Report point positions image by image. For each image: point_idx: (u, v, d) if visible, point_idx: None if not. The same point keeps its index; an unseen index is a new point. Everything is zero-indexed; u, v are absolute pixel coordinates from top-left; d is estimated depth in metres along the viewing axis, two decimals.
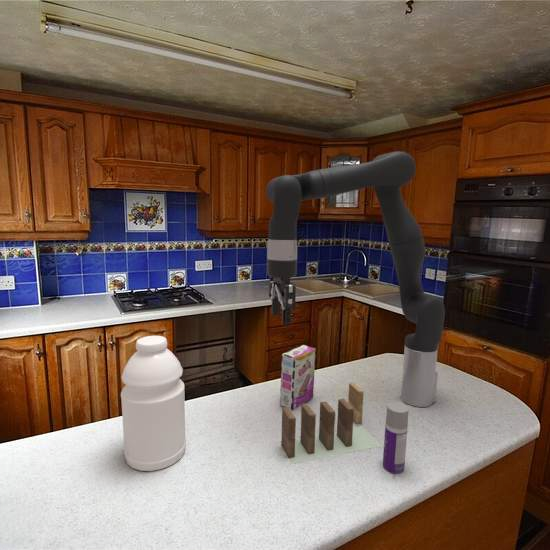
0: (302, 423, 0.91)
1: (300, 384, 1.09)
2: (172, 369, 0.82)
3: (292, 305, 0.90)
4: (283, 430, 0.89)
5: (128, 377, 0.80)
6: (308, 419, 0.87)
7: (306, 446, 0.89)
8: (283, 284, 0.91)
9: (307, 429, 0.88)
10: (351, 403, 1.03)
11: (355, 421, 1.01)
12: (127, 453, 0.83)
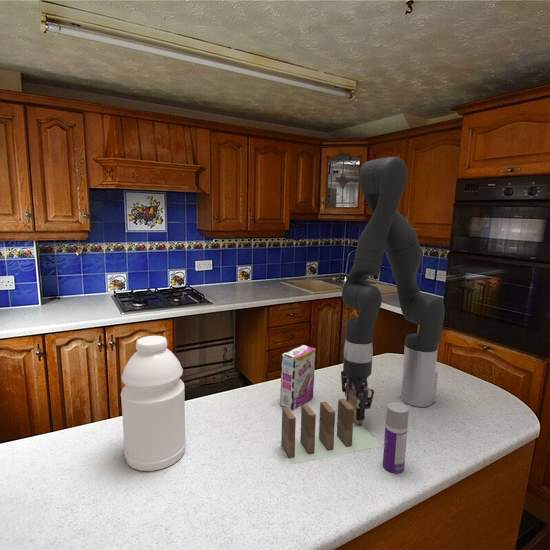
0: (302, 423, 0.91)
1: (300, 384, 1.09)
2: (172, 369, 0.82)
3: (367, 406, 0.97)
4: (283, 430, 0.89)
5: (128, 377, 0.80)
6: (308, 419, 0.87)
7: (306, 446, 0.89)
8: (361, 385, 0.98)
9: (307, 429, 0.88)
10: (351, 403, 1.03)
11: (355, 421, 1.01)
12: (127, 453, 0.83)
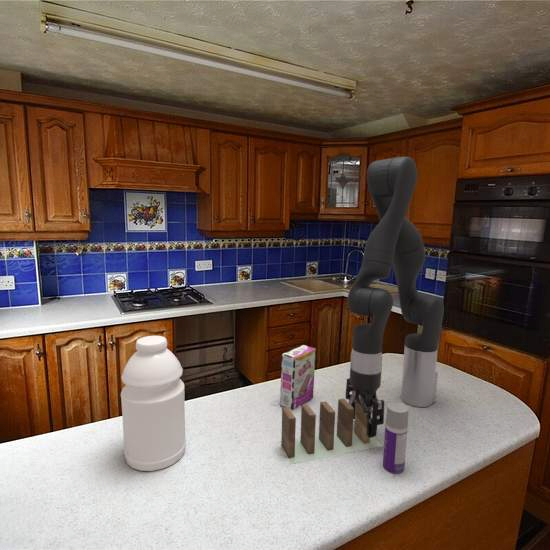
0: (302, 423, 0.91)
1: (300, 384, 1.09)
2: (171, 369, 0.82)
3: (380, 421, 0.88)
4: (283, 430, 0.89)
5: (128, 377, 0.80)
6: (308, 419, 0.87)
7: (306, 446, 0.89)
8: (370, 398, 0.89)
9: (307, 429, 0.88)
10: (358, 418, 0.95)
11: (362, 438, 0.93)
12: (127, 453, 0.83)
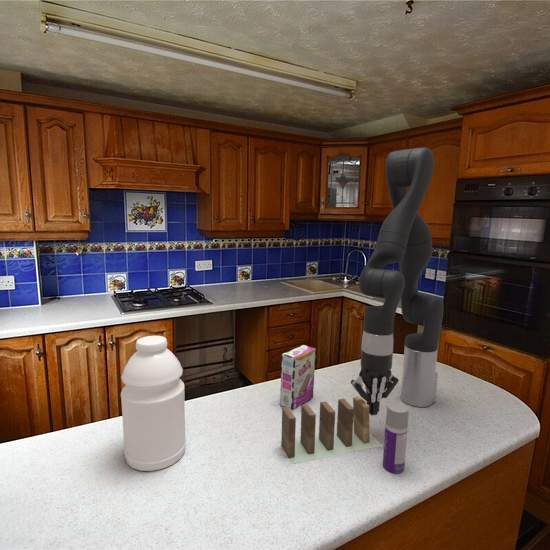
0: (302, 423, 0.91)
1: (300, 384, 1.09)
2: (172, 369, 0.82)
3: None
4: (283, 430, 0.89)
5: (128, 377, 0.80)
6: (308, 419, 0.87)
7: (306, 446, 0.89)
8: None
9: (307, 429, 0.88)
10: (357, 419, 0.95)
11: (362, 438, 0.93)
12: (127, 453, 0.83)
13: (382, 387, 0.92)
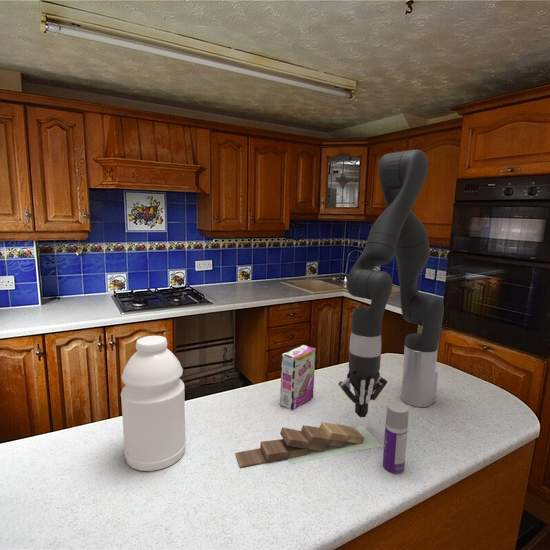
0: None
1: (300, 384, 1.09)
2: (172, 369, 0.82)
3: None
4: None
5: (128, 377, 0.80)
6: None
7: None
8: None
9: None
10: None
11: None
12: (127, 453, 0.83)
13: (370, 389, 0.92)
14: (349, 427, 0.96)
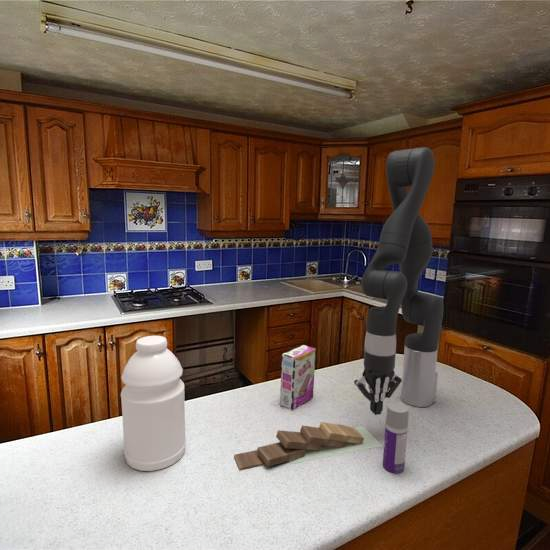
0: None
1: (300, 384, 1.09)
2: (172, 369, 0.82)
3: None
4: None
5: (128, 377, 0.80)
6: None
7: None
8: None
9: None
10: None
11: None
12: (127, 453, 0.83)
13: (385, 387, 0.93)
14: (349, 427, 0.96)
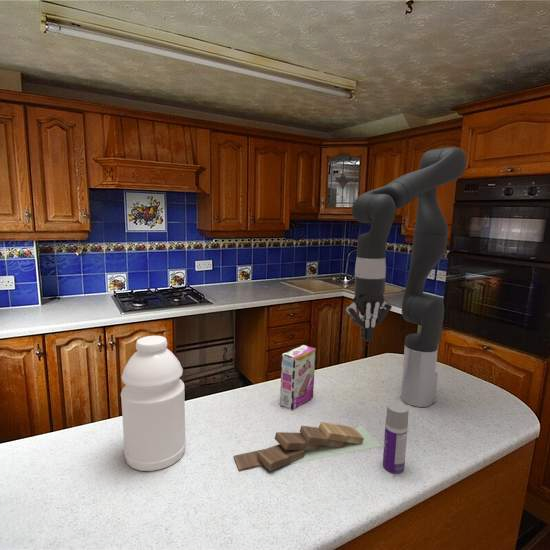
0: None
1: (300, 384, 1.09)
2: (172, 369, 0.82)
3: None
4: None
5: (128, 377, 0.80)
6: None
7: None
8: None
9: None
10: None
11: None
12: (127, 453, 0.83)
13: (375, 312, 0.95)
14: (349, 427, 0.96)
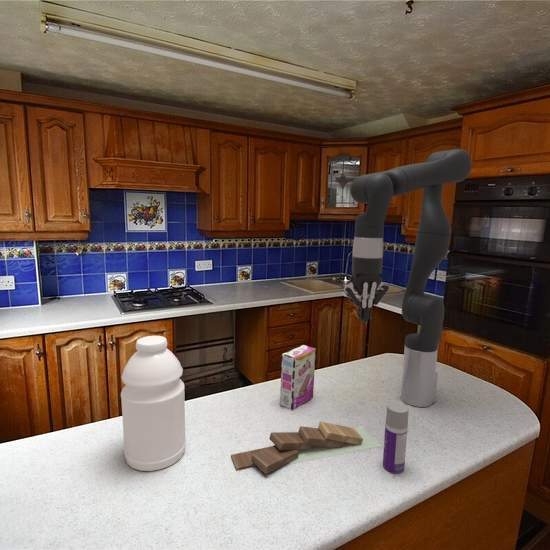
0: None
1: (300, 384, 1.09)
2: (172, 369, 0.82)
3: None
4: None
5: (128, 377, 0.80)
6: None
7: None
8: None
9: None
10: None
11: None
12: (127, 453, 0.83)
13: (372, 293, 0.95)
14: (348, 428, 0.96)
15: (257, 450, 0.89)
